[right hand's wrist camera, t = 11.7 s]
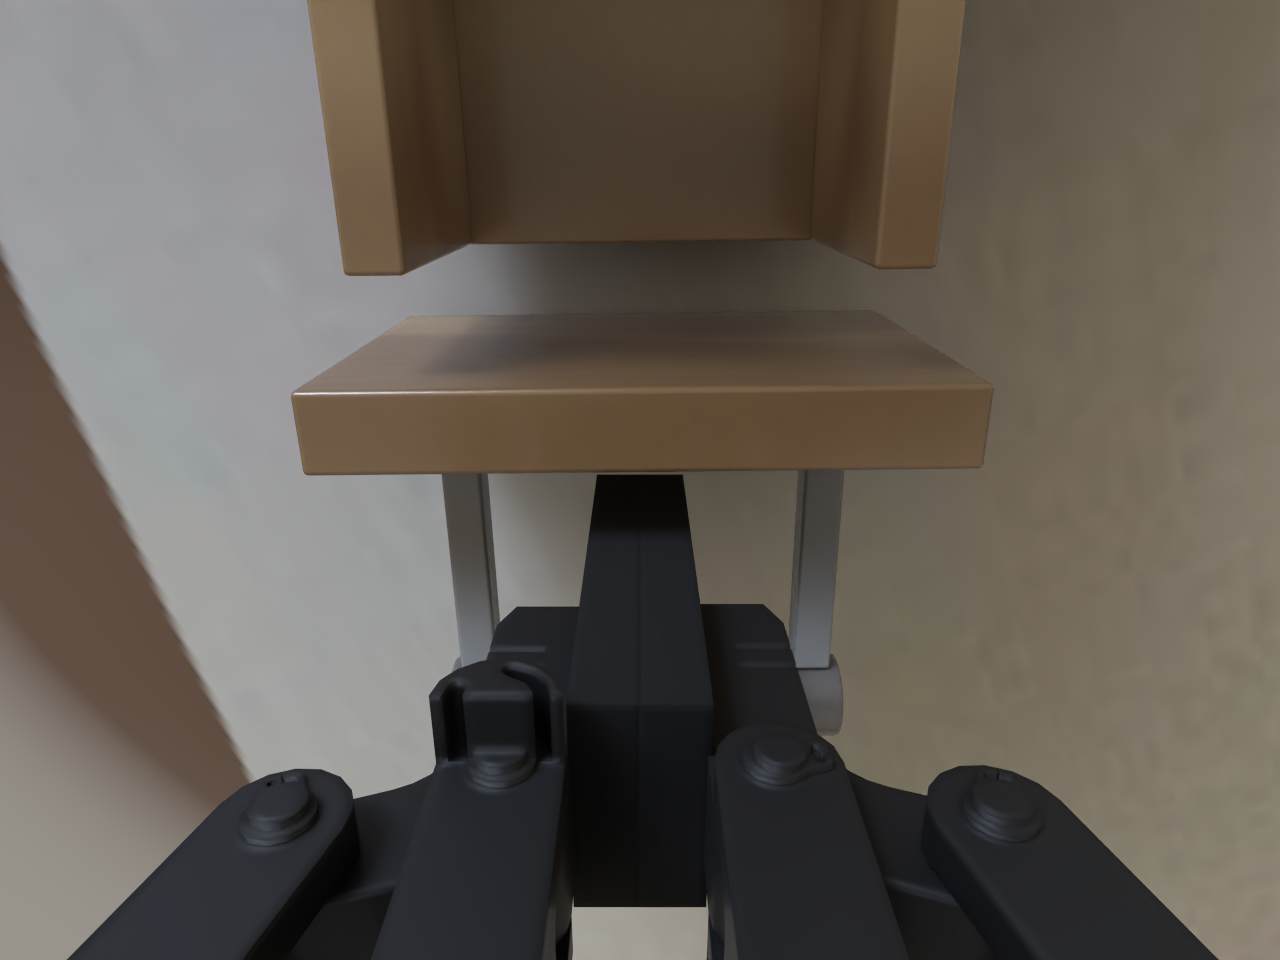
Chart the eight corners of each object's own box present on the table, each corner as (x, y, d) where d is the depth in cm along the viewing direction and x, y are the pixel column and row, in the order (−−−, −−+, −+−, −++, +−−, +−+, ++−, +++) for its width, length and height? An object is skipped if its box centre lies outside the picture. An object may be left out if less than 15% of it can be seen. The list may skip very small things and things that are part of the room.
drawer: (851, 601, 19) (940, 785, 13) (440, 604, 19) (354, 789, 13) (988, -970, 11) (1365, -2207, 5) (267, -950, 11) (-139, -2151, 5)
